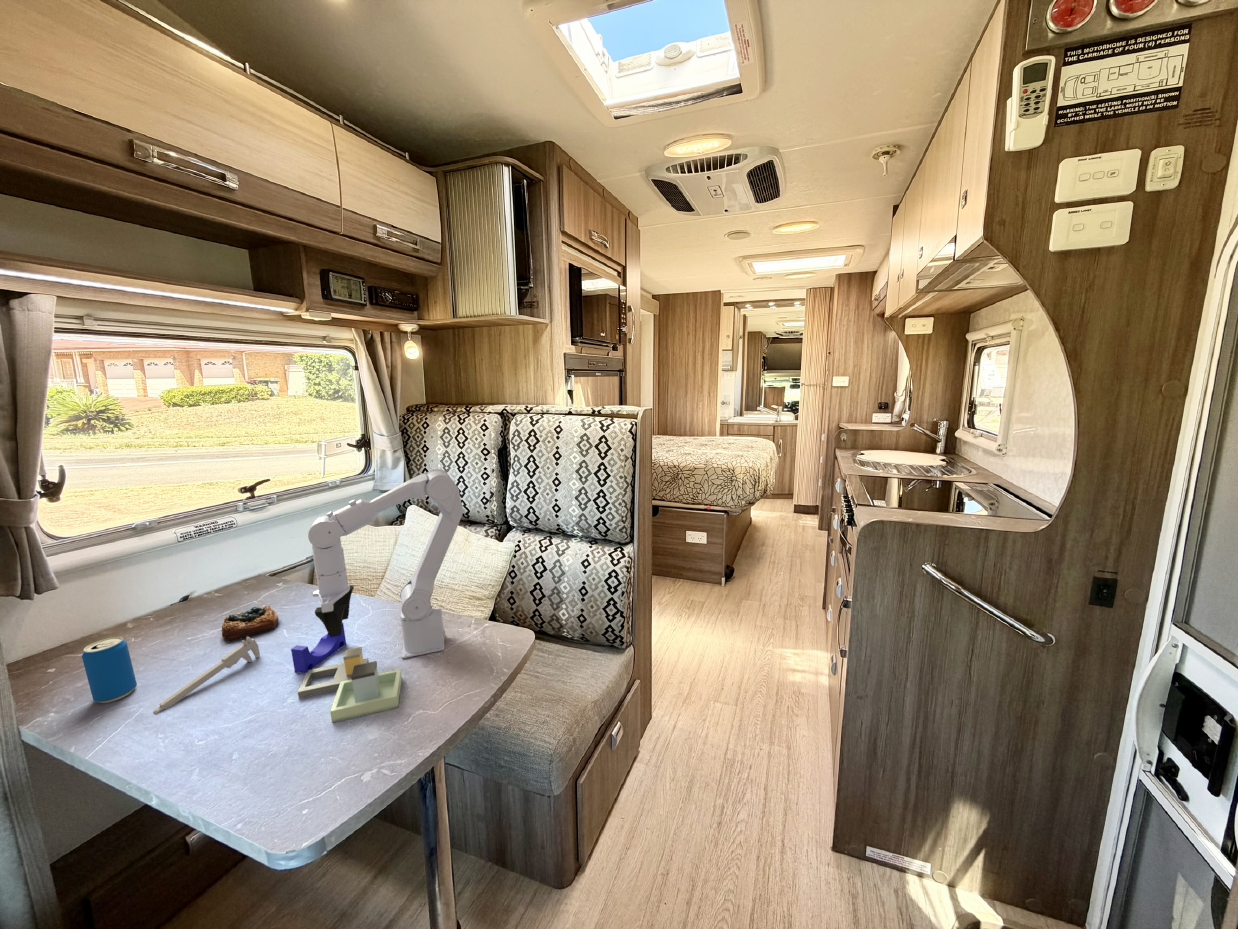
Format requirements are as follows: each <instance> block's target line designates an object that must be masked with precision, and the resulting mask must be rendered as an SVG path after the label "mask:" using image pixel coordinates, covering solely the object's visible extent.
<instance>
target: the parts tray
mask: <svg viewBox="0 0 1238 929" xmlns="http://www.w3.org/2000/svg"><path fill="white" fill-rule="evenodd" d="M378 678H379V685H380V693H379V698H376V699H372V700H368V701H363V702H359V703H355V697H354V691H353V684H352V679H351V680H347V681H342V682H340V685H339V688H338V690H336V693H335V697H334V700H333V703H332V706H331V709H330V710H329V711H330V713H329V714H330V717H331V718H330V719H331V723H332V724H334V723H337V722H341V721H346V720H350V719H354V718H359V717H363V716H367V715H372V714H376V713H381V712H384V711H388V710H389V711H390V710H392V709H393V710H394V709H398V708H399V704H400V696H401V690H402V689H401V688H402V682H403V675H402V669H401V668H399V669H395V670H390V671H385V672H380V673H378Z"/></svg>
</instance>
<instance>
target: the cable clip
mask: <svg viewBox="0 0 1238 929" xmlns="http://www.w3.org/2000/svg"><path fill="white" fill-rule="evenodd" d="M346 640H347V639H346V632H345V626H344V622H342V633H341V635H340V636H335V637H330V636H329V634H328V633H326V634H325V635H324V636H322V637H321V638H320V639H319V641H318V643H317V644H316V646H315V647H314V648H313V649H311V650H310V649H309V646H307V645H306V646H305V645H295V646H293V647H292V648H290V651H291V657H292V662H293V668H294V669H293V670H294V673H298V674H299V673H300V674H305V675H306V674H307V672H308V670H312V669H315V668H316V667H317V666H318V665H320V664H321V663H323V662H324V661H326V660H327V659H328V658H329V657H331V656H332V655H333V654H335V653H337V652H338V651H339V650H340V649H342V648H344V647H345V646H346V645H347V641H346Z"/></svg>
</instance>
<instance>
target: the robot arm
mask: <svg viewBox="0 0 1238 929" xmlns="http://www.w3.org/2000/svg"><path fill="white" fill-rule="evenodd" d="M426 495H427V496H428V498H430V499H431V500H432V501H433V502H434V503H435V504H436V505H437V507H438V509H439V510H440V513H439V515H438V516H437V519H436V521H435V524H434V527H433V529H432V531H431V534H430V536H429V539H428V541H427V543H426V545H425V548H424V550H423V553H422V555H421V557H420V560H419V562H418V565H417V567H416V570H415V571H414V572H413V573H412V574H411V576H410V578H409V580H408V581H407V582H406V583H405V584H404V585H403V586H402V587H401V589H400V592H399V598H400V600H401V612H400V615H399V616H400V623H401V624H400V625H401V630H402V631H401V632H402V638H403V639H402V640H403V646H402V651H401V659H408V658H412V657H416V656H421V655H426V654H431V653H436V652H442V651H444V650H445V638H446V630H445V628H444V620H443V611H442V608H433V606H432V602H431V600H432V599H431V598H432V596H433V592H434V589H435V581H436V580H437V579H436V578H437V576H438V573H439V571H440V569H441V566H442V564H443V562H444V559H445V557H446V554H447V552H448V550H449V547H450V545H451V543H452V541H453V539H454V536H455V533H456V531H457V529H458V526H459V524H460V521H461V520H462V517H463V514H464V510H463V504H462V500H461V495H460V489H459V487H458V486H457V484H456V483H455V481H454V480H453V478H451V477H450V474H448V472H447V471H445V470H444V469H441V468H435V469H430V470H429V471H427V472H426V473H425V472H424V473H421V474H418V475H416V476H415V477H412V478H410V479H409V480H407V481H405V482H403V483H402V484H399V485H397V486H396V487H394V488H392V489H389V490H388V491H386V492H384V493H382V494H381V495H379V496H377V497H375V498H373V499H371V500H368V499H367V500H366V499H362V498H361V499H359V500H356V499H352V500H350V501H348V505H347V506H345V507H343V508H340V509H338V510H336V511H334V512H333V511H329V512H327V513H326V515H324V516H320V517H318V518H316V519H315V520H314V521H313V523H312V524H311V526H310V528H309V530H308V533H307V534H308V535H307V537H308V540H309V543H310V545H311V550H312V551H313V554H312V557H313V558H312V559H313V563H314V571H315V576H316V584H317V590H314V591H313V592H312V597H313V598H316V597H318V598H319V601H320V606H319V607H316V608H315V610H314V614H315V616H316V617H317V618H318V619H319V620H320V621H321V622H322V624H323V625H324V628H325V630H326V631H327V634H329V636H330V637H335V636H340V635H341V633H342V623H343V620H348V619H349V615H350V614H349V613H350V602H351V598H352V593H353V591H354V588H355V587H354V585H352V584H351V585H350V584H349V580H348V574H347V567H346V560H345V552H344V548H343V545H342V540H341V537H345V536H348V535H350V534H352V533H354V532H356V531H358V530H360V529H362V528H364V527H366V526H368V525H370V524H372V523H374V522H375V521H376V518H377V515H378V514H379V513H382V512H383V511H386V510H388V509H390V508H393V507H395V506H398V505H399V504H401V503H404V502H406V501H408V500H410V499H418V500H427V498H426Z"/></svg>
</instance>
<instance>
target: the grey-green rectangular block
mask: <svg viewBox="0 0 1238 929" xmlns="http://www.w3.org/2000/svg"><path fill="white" fill-rule="evenodd" d="M377 664H378V661H370V662H369V663H365V664H360V665H355V666H354V669H353V672H352V676H351V679H352V684H353V691H354V697H355V703H359V702H363V701H368V700H372V699H376V698H379V693H380V685H379V678H378V674H379V672H378V665H377Z"/></svg>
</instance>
